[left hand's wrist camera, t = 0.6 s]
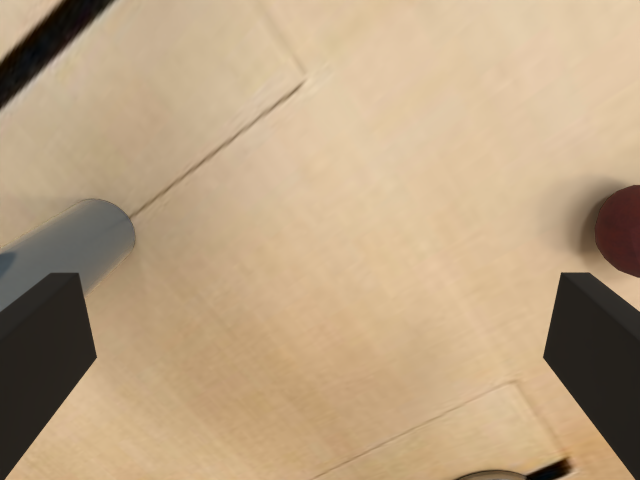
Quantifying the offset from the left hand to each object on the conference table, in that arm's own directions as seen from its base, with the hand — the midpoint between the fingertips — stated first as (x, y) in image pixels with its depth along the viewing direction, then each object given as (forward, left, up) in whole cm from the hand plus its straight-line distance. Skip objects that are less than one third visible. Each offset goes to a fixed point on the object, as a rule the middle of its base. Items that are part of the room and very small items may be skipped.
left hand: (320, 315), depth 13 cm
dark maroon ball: (+6, +27, -28) cm, 39 cm away
